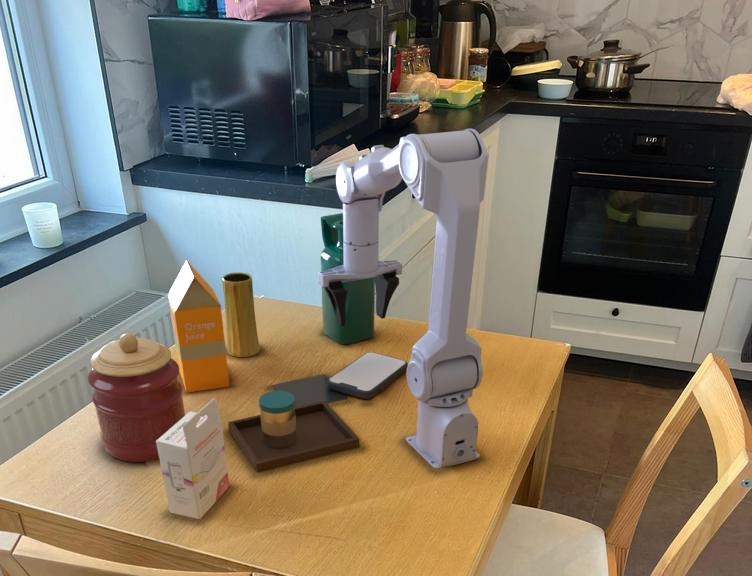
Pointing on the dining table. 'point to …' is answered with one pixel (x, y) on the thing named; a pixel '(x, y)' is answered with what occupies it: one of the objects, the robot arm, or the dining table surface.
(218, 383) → the orange juice
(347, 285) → the green glass bottle
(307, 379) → the slate coaster
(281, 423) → the teal lidded glass jar
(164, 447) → the ink cartridge box
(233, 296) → the vase
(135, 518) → the dining table surface
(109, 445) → the kitchen canister
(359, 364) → the phone case
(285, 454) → the tray
